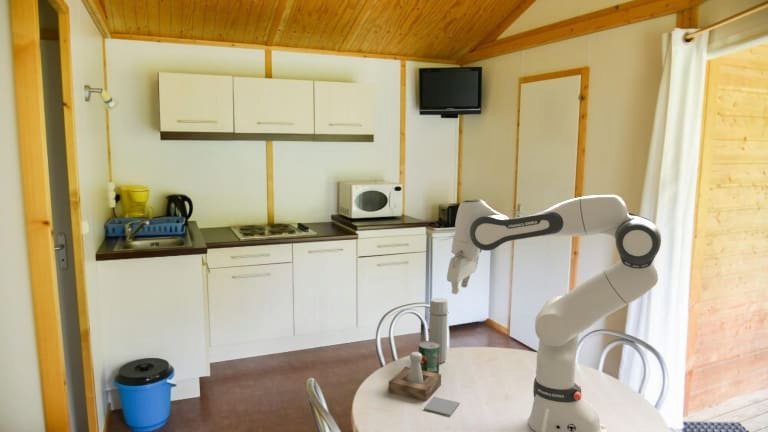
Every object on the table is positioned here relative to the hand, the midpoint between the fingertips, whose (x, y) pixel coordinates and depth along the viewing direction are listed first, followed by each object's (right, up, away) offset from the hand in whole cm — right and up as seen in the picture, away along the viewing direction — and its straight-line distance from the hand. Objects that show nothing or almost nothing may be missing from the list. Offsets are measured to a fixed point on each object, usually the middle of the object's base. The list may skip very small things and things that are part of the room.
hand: (459, 290), depth 164 cm
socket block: (-14, -37, +14) cm, 42 cm away
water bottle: (-3, -34, +40) cm, 52 cm away
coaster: (-6, -38, +1) cm, 39 cm away
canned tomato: (-8, -36, +28) cm, 46 cm away
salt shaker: (-14, -37, +14) cm, 42 cm away
